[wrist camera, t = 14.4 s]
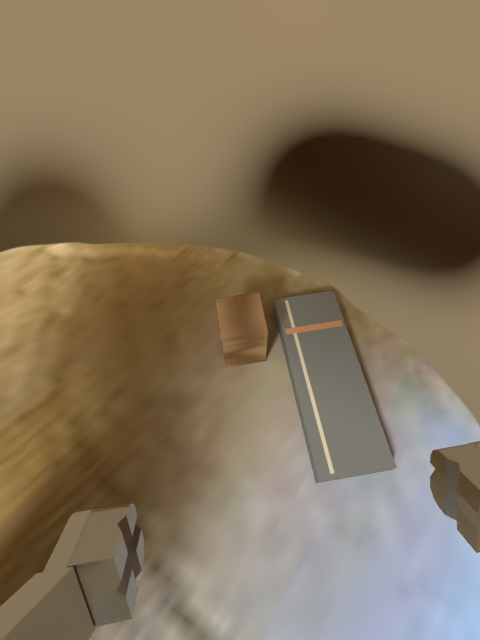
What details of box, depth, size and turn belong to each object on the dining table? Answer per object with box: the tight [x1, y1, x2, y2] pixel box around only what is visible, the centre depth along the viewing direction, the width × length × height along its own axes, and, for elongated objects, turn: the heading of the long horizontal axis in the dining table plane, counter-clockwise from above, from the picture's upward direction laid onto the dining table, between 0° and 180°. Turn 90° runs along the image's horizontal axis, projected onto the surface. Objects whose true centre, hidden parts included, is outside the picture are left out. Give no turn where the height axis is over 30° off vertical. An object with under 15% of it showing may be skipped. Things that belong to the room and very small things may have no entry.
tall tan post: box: [215, 293, 268, 367], centre depth 40 cm, size 5×5×8 cm
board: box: [273, 290, 396, 483], centre depth 40 cm, size 8×22×2 cm, turn 9°
